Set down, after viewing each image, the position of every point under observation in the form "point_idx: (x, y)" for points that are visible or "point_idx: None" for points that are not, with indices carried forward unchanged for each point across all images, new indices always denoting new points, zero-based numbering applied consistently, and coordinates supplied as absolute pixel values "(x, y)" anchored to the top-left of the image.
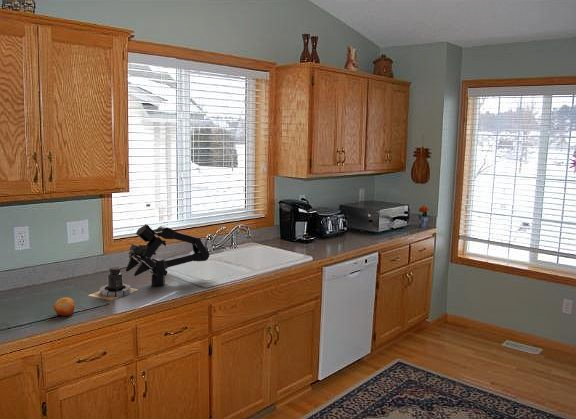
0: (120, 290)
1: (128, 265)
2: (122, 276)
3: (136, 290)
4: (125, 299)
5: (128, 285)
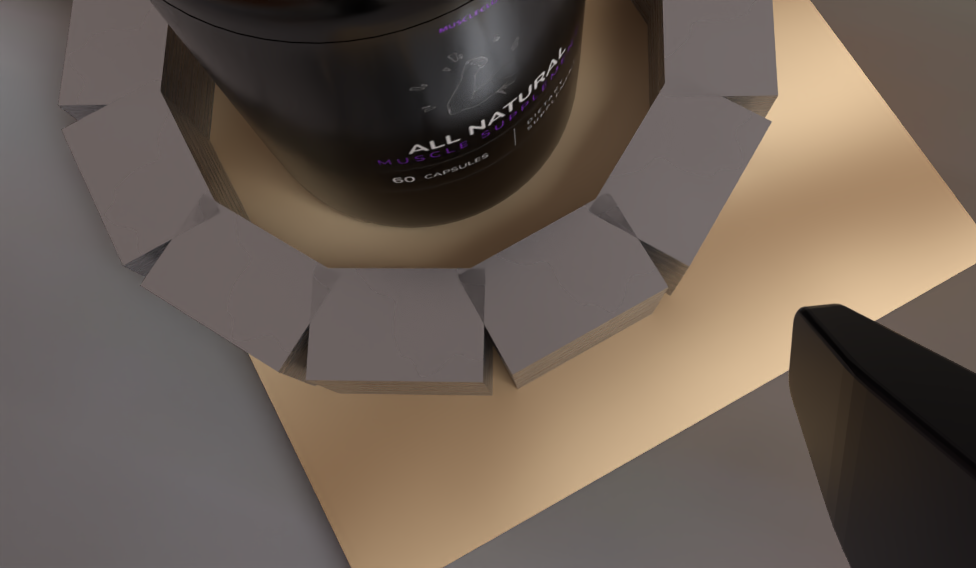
0: (141, 70)
1: (970, 453)
2: (178, 9)
3: (339, 539)
4: (30, 177)
5: (427, 360)
